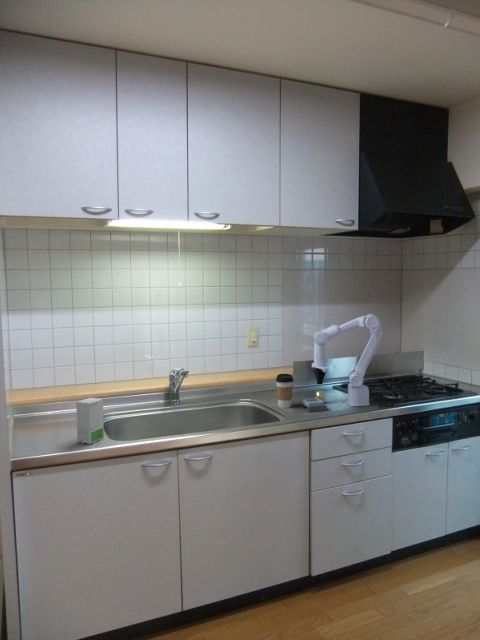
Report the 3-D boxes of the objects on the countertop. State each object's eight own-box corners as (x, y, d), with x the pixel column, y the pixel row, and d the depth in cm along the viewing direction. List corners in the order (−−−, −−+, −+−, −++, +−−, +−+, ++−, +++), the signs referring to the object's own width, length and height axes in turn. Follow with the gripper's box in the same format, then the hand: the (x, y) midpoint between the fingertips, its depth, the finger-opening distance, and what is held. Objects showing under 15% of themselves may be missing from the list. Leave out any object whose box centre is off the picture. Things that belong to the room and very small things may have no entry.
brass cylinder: (321, 401, 236) (321, 390, 236) (324, 403, 233) (324, 392, 232) (314, 402, 236) (314, 391, 235) (317, 404, 232) (317, 393, 231)
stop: (325, 409, 222) (325, 404, 222) (326, 410, 221) (326, 405, 221) (307, 411, 220) (307, 406, 219) (308, 412, 219) (308, 406, 218)
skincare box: (90, 445, 177) (88, 403, 176) (76, 442, 180) (74, 401, 179) (105, 438, 185) (103, 398, 184) (91, 435, 188) (90, 396, 186)
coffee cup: (294, 404, 231) (294, 373, 230) (291, 409, 223) (291, 377, 222) (277, 403, 234) (277, 373, 232) (274, 408, 226) (274, 376, 224)
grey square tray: (317, 405, 229) (317, 398, 229) (323, 409, 222) (324, 401, 221) (302, 406, 227) (302, 399, 227) (308, 411, 220) (308, 403, 219)
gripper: (306, 354, 238) (306, 381, 239) (318, 359, 224) (318, 387, 225) (319, 353, 240) (319, 380, 241) (332, 358, 226) (332, 386, 227)
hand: (319, 384), depth 233 cm, fingers closed
